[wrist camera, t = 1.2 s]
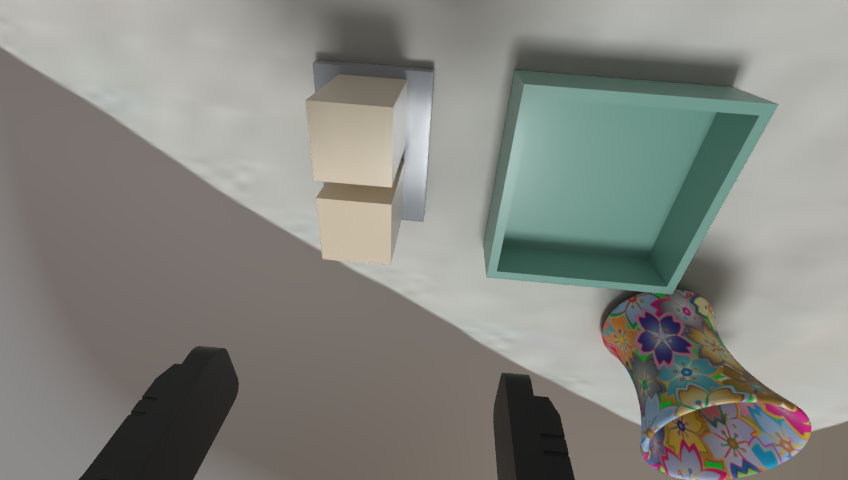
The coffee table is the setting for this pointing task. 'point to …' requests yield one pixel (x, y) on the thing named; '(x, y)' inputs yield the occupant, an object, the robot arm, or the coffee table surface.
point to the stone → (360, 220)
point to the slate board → (415, 122)
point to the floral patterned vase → (698, 392)
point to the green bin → (614, 177)
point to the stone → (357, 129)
